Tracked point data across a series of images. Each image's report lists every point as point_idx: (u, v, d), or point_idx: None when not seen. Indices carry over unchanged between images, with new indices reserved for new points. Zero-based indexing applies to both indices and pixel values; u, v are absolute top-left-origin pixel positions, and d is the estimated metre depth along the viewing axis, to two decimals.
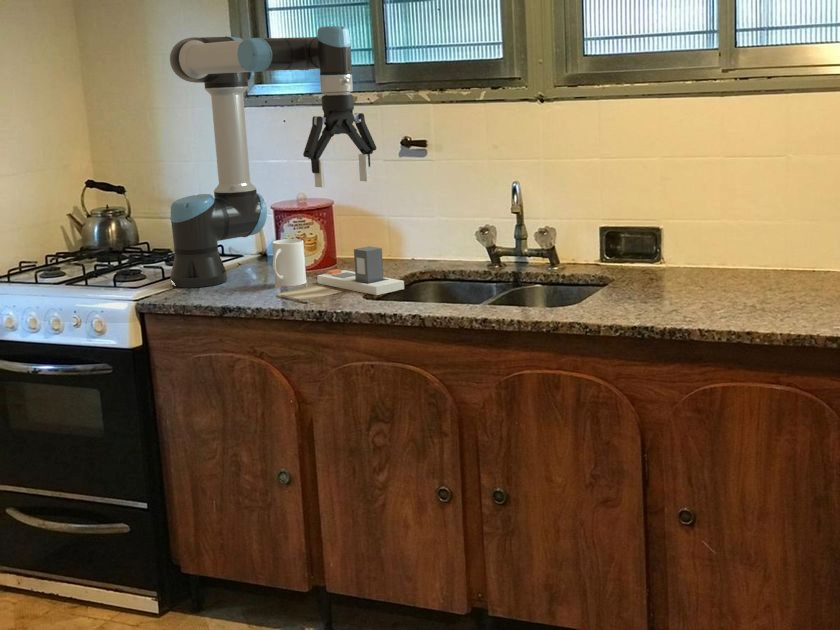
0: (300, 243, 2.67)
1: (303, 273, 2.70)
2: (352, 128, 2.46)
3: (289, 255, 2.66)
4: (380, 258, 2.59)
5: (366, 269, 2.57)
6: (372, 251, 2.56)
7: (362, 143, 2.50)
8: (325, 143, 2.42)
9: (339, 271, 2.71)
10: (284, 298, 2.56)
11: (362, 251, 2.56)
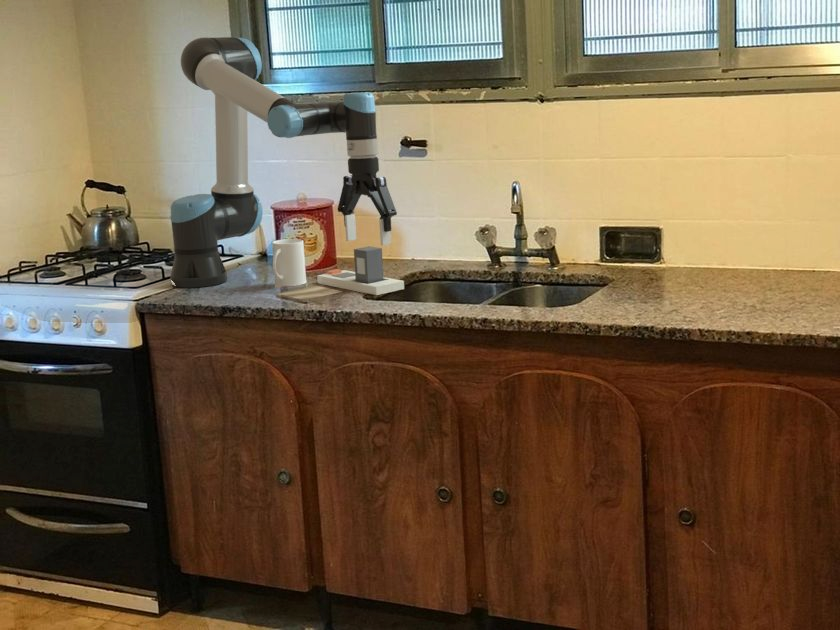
0: (300, 243, 2.67)
1: (303, 273, 2.70)
2: (366, 191, 2.52)
3: (289, 255, 2.66)
4: (380, 258, 2.59)
5: (366, 269, 2.57)
6: (372, 251, 2.56)
7: (377, 207, 2.51)
8: (348, 201, 2.59)
9: (339, 271, 2.71)
10: (284, 298, 2.56)
11: (362, 251, 2.56)
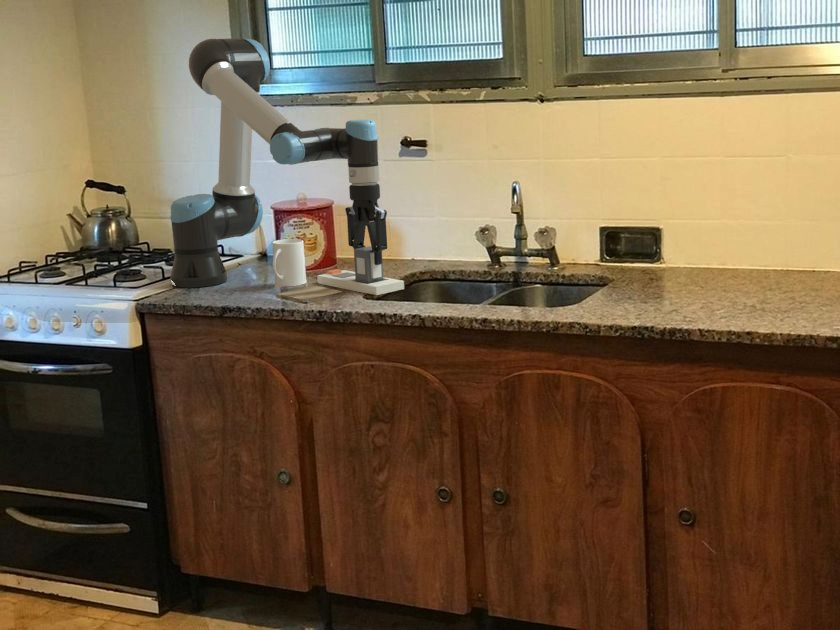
0: (300, 243, 2.67)
1: (303, 273, 2.70)
2: (365, 219, 2.54)
3: (289, 255, 2.66)
4: None
5: (366, 269, 2.57)
6: None
7: (371, 239, 2.55)
8: (356, 232, 2.59)
9: (339, 271, 2.71)
10: (284, 298, 2.56)
11: (362, 251, 2.56)
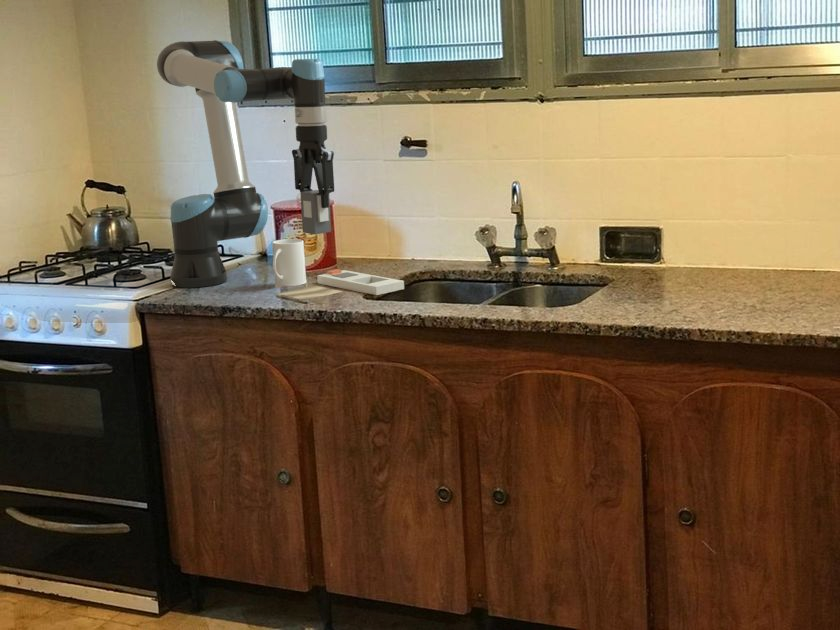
0: (300, 243, 2.67)
1: (303, 273, 2.70)
2: (312, 161, 2.49)
3: (289, 255, 2.66)
4: None
5: (313, 212, 2.52)
6: None
7: (317, 181, 2.50)
8: (302, 175, 2.54)
9: (339, 271, 2.71)
10: (284, 298, 2.56)
11: (309, 194, 2.51)
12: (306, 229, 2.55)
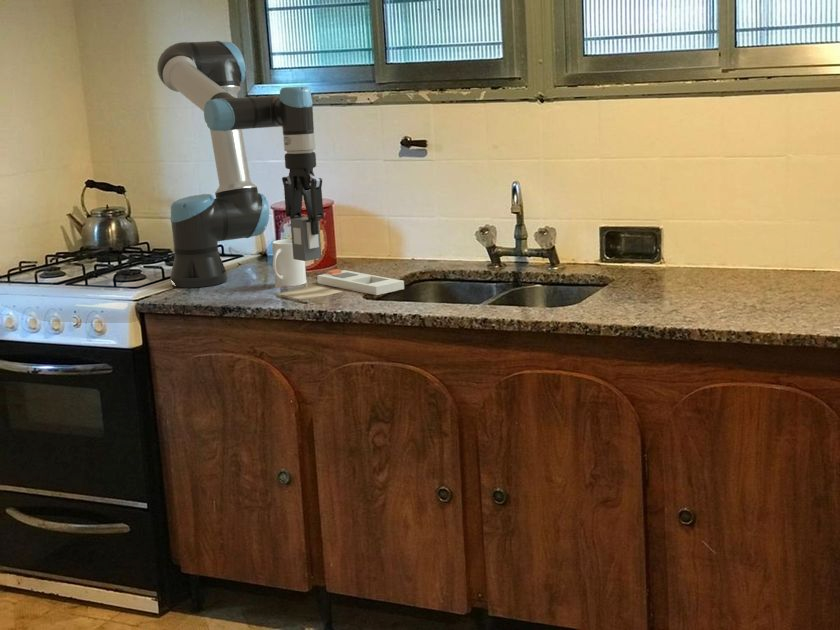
0: None
1: (303, 273, 2.70)
2: (301, 188, 2.50)
3: (289, 255, 2.66)
4: None
5: (302, 239, 2.52)
6: None
7: (307, 208, 2.50)
8: (292, 202, 2.54)
9: (339, 271, 2.71)
10: (284, 298, 2.56)
11: (298, 221, 2.52)
12: (296, 256, 2.55)
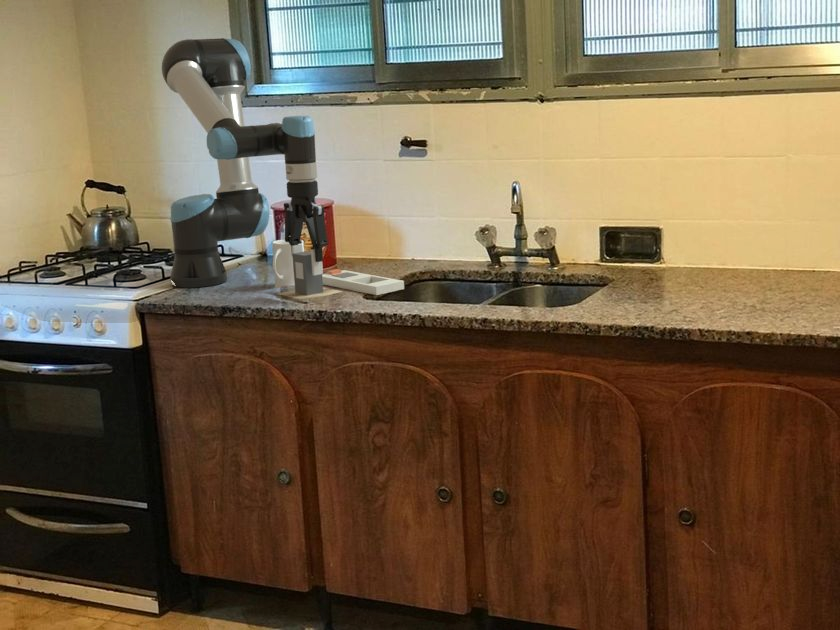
0: None
1: None
2: (303, 216, 2.51)
3: (289, 255, 2.66)
4: None
5: (304, 274, 2.54)
6: (310, 256, 2.54)
7: (310, 235, 2.51)
8: (292, 229, 2.56)
9: (339, 271, 2.71)
10: (284, 298, 2.56)
11: (300, 256, 2.54)
12: (298, 290, 2.57)
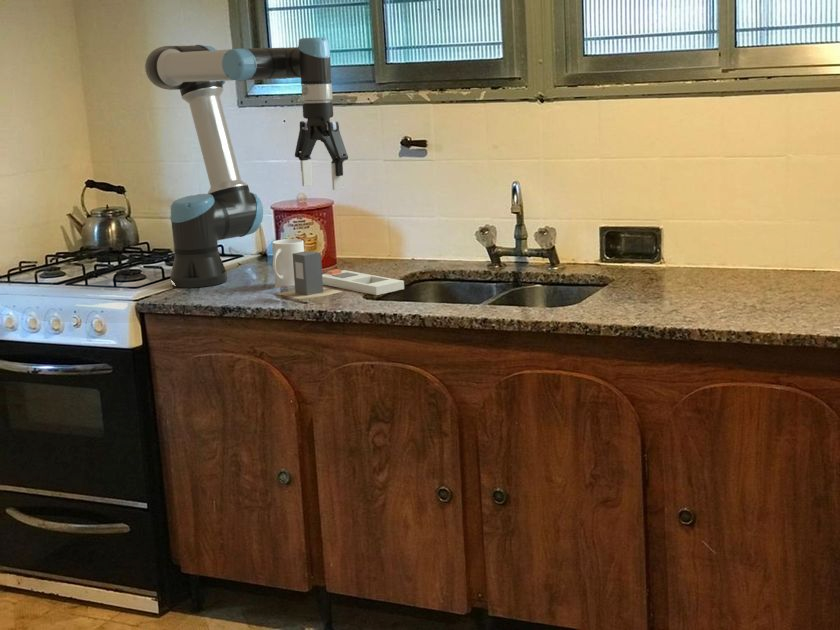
0: (300, 243, 2.67)
1: None
2: (319, 136, 2.55)
3: (289, 255, 2.66)
4: (319, 263, 2.56)
5: (304, 274, 2.54)
6: (310, 256, 2.54)
7: (329, 151, 2.54)
8: (304, 146, 2.62)
9: (339, 271, 2.71)
10: (284, 298, 2.56)
11: (300, 256, 2.54)
12: (298, 290, 2.57)
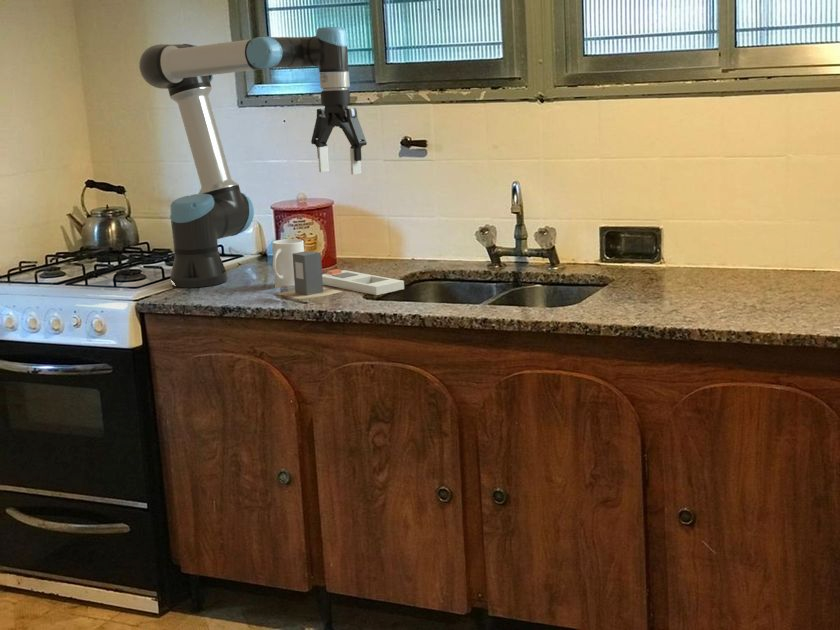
0: (300, 243, 2.67)
1: None
2: (338, 122, 2.63)
3: (289, 255, 2.66)
4: (319, 263, 2.56)
5: (304, 274, 2.54)
6: (310, 256, 2.54)
7: (348, 137, 2.62)
8: (321, 133, 2.70)
9: (339, 271, 2.71)
10: (284, 298, 2.56)
11: (300, 256, 2.54)
12: (298, 290, 2.57)
